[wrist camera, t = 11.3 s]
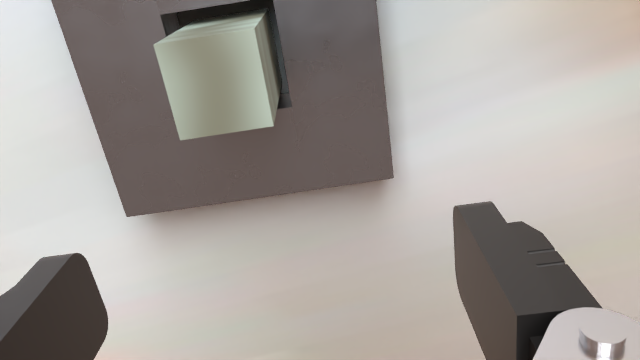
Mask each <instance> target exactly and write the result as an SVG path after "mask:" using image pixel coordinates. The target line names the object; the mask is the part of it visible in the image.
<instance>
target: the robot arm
mask: <svg viewBox="0 0 640 360" xmlns="http://www.w3.org/2000/svg"><path fill="white" fill-rule="evenodd" d="M453 227H454V250H455V271H456V279H457V285H458V289H459V293H460V297H461V299H462V302H463V304H464V307H465V309H466V312H467V314H468V317H469V319H470V321H471V324H472V326H473V329H474V331H475V334H476V336H477V338H478V341H479V343H480V346H481V348H482V351H483V353H484V355H485V358H486V360H640V323H639V322H638V321H636V320H634V319H632V318H631V317H628V316H626V315H624V314H621V313H618V312H615V311H612V310H607V309H603V308H602V307H601V306H600V305H599V303H598V302H597V301H596V300H595V298H594V297H593V296H592V295H591V293H590V292H589V291H588V290H587V288H586V287H585V286H584V285H583V283H582V282H581V281H580V280H579V278H578V277H577V276H576V275H575V273H574V272H573V271H572V270H571V268H570V267H569V266H568V265H567V264H565V261H564V260H563V258H562V257H561V256H560V255H559V253H558V252H557V251H555V249H554V247H553V246H552V245H551V243H550V242H549V241H548V240H547V238H546V237H545V236H544V235H543V233H541V232H540V231H538V230H536V229H534V228H532V227H531V226H529V225H527V224H525V223H524V222H522V221H521V222H512V223H507V222H506V221H505V219H504V218H503V217H502V215H501V214H500V212H499V211H498V209H497V208H496V207H495V205H494V204H493V203H492V202H491V201H489V202H481V203H474V204H466V205H458V206H455V207H454V210H453ZM107 330H108V316H107V311H106V308H105V305H104V303H103V300H102V298H101V295H100V293H99V290H98V287H97V285H96V282H95V280H94V277H93V275H92V272H91V269H90V267H89V264H88V262H87V260H86V258H85V257H84V256H83V255H82V254H79V253H73V254H66V255H58V256H50V257H43V258H41V259H40V260H39V261H38V262H37V263H36V264H35V265H34V266H33V267H32V268H31V269H30V270H29V271H28V273H27V274H26V275H25V276H24V277H23V278H22V279H21V280H20V281H19V282H18V283H17V284H16V286H14V287H13V288H11V289H10V290H9V291H7V292H6V293H4V294H3V295H1V296H0V360H94V358H95V356H96V354H97V353H98V351H99V349H100V347H101V345H102V344H103V342H104V340H105V338H106V335H107Z"/></svg>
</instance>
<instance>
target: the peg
mask: <svg viewBox="0 0 640 360" xmlns="http://www.w3.org/2000/svg"><path fill="white" fill-rule="evenodd" d="M154 49H155V52H156V56H157V59H158V63H159V66H160V70H161V74H162V77H163V81H164V84H165V88H166V91H167V95H168V99H169V102H170V106H171V109H172V113H173V117H174V120H175V124H176V127H177V131H178V134H179V138H180V140H186V139H193V138H200V137H206V136H213V135H219V134H226V133H232V132H239V131H245V130H252V129H259V128H265V127H272V126H274V122H275V117H276V111H277V106H278V101H279V96H280V91H281V86H282V78H281V73H280V67H279V62H278V56H277V51H276V45H275V40H274V35H273V29H272V24H271V18H270V13H269V8H267V9H260V10H254V11H248V12H242V13H236V14H230V15H223V16H217V17H211V18H205V19H199V20H194V21H193V22H191V23H189V24H187V25H186V26H184V27H182V28H181V29H179V30H177V31H176V32H174V33H172V34H171V35H169V36H167V37H165V38H164V39H162V40H160V41H159V42H157V43H155V44H154Z"/></svg>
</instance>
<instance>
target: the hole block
mask: <svg viewBox="0 0 640 360" xmlns="http://www.w3.org/2000/svg"><path fill="white" fill-rule="evenodd" d="M51 1H52V3H53V6H54V9H55V12H56V15H57V18H58V21H59V24H60V26H61V29H62V32H63V35H64V38H65V41H66V44H67V47H68V49H69V52H70V55H71V58H72V61H73V64H74V67H75V70H76V72H77V75H78V78H79V81H80V84H81V87H82V90H83V93H84V95H85V98H86V101H87V104H88V107H89V110H90V113H91V116H92V118H93V121H94V124H95V127H96V130H97V133H98V136H99V139H100V141H101V144H102V147H103V150H104V153H105V156H106V159H107V162H108V164H109V167H110V170H111V173H112V176H113V179H114V182H115V185H116V187H117V190H118V193H119V196H120V199H121V202H122V205H123V208H124V210H125V213H126V216H127V217H130V216H137V215H144V214H151V213H158V212H164V211H171V210H178V209H185V208H192V207H199V206H206V205H212V204H219V203H226V202H233V201H240V200H247V199H253V198H260V197H267V196H274V195H281V194H288V193H295V192H301V191H308V190H315V189H322V188H329V187H336V186H342V185H349V184H356V183H363V182H370V181H377V180H383V179H390V178H394V176H393V166H392V156H391V146H390V136H389V126H388V116H387V106H386V96H385V86H384V76H383V66H382V56H381V46H380V36H379V26H378V16H377V6H376V0H273V3H274V8H275V14H276V20H277V25H278V31H279V36H280V42H281V48H282V53H283V59H284V64H285V70H286V76H287V81H288V87H289V92H290V93H286V94H280V96H279V101H278V106H277V111H276V117H275V122H274V126H272V127H265V128H259V129H252V130H245V131H239V132H232V133H226V134H219V135H213V136H206V137H200V138H193V139H186V140H180V138H179V134H178V131H177V127H176V124H175V120H174V117H173V113H172V109H171V106H170V102H169V99H168V95H167V91H166V88H165V84H164V81H163V77H162V74H161V70H160V66H159V63H158V59H157V56H156V52H155V49H154V44H155V43H157V42H159V41H160V40H162V39H164V38H165V37H167V36H169V35H171V34H172V33H174V32H176V31H177V30H179V29H180V26H179V22H178V18H177V14H176V12H180V11H186V10H193V9H199V8H205V7H211V6H217V5H224V4H230V3H236V2H242V1H248V0H51Z"/></svg>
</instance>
